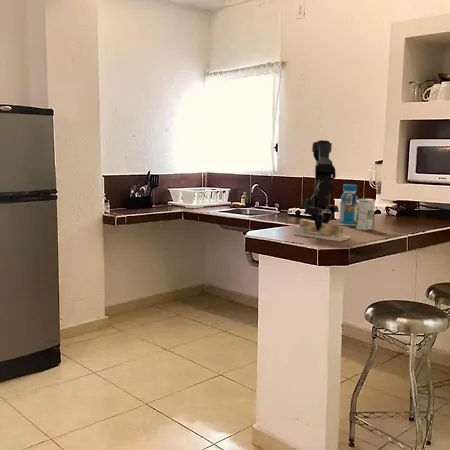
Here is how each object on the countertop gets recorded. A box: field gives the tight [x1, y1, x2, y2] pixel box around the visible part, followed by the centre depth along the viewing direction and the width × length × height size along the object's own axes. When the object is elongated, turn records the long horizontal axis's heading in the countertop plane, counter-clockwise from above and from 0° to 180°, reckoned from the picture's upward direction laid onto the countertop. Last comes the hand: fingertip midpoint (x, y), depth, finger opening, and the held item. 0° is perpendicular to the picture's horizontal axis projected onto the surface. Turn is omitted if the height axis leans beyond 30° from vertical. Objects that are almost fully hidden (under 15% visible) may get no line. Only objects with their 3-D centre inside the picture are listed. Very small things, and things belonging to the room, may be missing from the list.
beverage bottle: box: [338, 183, 359, 227], centre depth 273 cm, size 8×8×20 cm
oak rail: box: [299, 218, 344, 237], centre depth 232 cm, size 18×4×4 cm, turn 58°
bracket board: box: [292, 224, 351, 242], centre depth 233 cm, size 10×22×4 cm, turn 51°
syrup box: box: [355, 198, 376, 231], centre depth 258 cm, size 6×6×14 cm
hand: (320, 229), depth 233 cm, fingers closed on oak rail, 4 cm apart
